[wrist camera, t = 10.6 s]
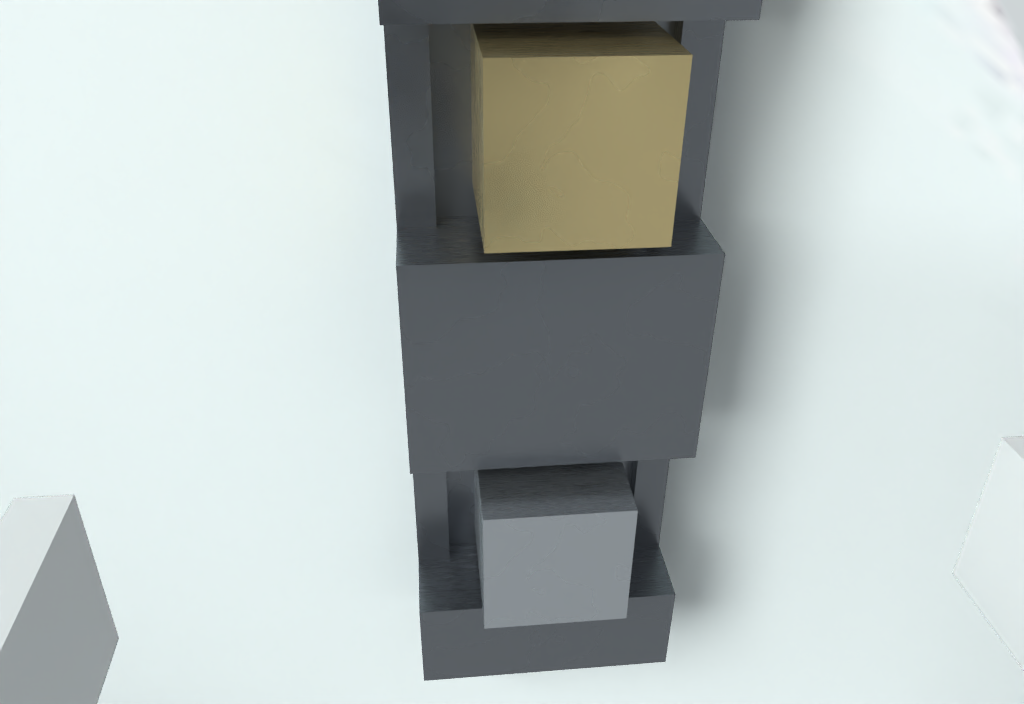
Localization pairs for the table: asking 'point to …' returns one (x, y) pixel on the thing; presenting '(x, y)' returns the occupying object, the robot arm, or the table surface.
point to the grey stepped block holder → (540, 336)
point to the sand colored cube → (576, 134)
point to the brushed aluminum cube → (554, 543)
